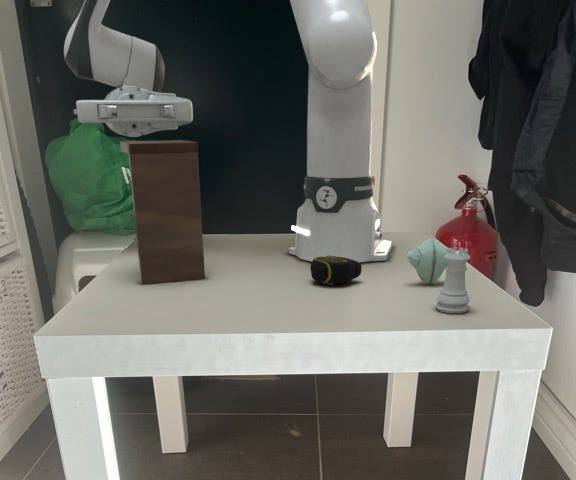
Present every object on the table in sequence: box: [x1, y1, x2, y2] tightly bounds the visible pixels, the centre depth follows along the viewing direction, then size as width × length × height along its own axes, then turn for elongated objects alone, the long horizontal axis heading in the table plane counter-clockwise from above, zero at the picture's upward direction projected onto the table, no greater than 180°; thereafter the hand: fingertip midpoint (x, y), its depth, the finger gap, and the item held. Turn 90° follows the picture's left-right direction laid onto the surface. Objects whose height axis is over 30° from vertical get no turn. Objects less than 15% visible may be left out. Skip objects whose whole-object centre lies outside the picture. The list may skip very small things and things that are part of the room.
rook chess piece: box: [435, 247, 471, 315], centre depth 84 cm, size 4×4×8 cm
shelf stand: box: [119, 139, 206, 285], centre depth 102 cm, size 11×10×20 cm
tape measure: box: [309, 256, 362, 286], centre depth 99 cm, size 7×7×4 cm
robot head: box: [406, 238, 448, 285], centre depth 97 cm, size 8×4×7 cm, turn 94°
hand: (141, 111), depth 109 cm, fingers open, 8 cm apart
